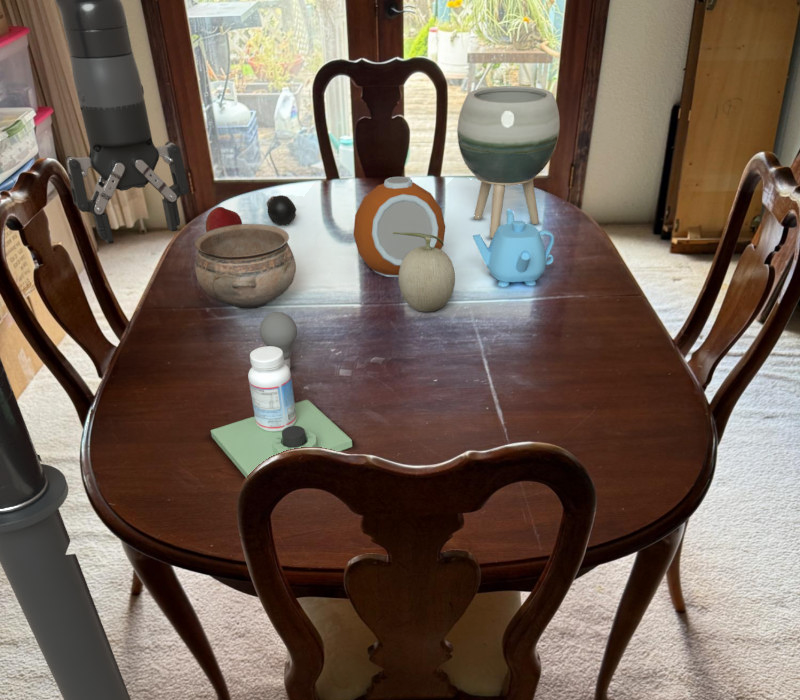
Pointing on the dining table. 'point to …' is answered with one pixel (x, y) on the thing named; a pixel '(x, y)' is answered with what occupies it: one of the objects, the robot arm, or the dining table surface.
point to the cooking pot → (245, 264)
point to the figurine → (281, 210)
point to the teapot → (516, 252)
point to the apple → (221, 218)
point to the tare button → (293, 436)
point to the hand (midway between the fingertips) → (141, 235)
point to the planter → (507, 142)
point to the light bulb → (279, 333)
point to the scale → (277, 437)
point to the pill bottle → (271, 389)
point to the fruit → (426, 276)
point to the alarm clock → (396, 224)
